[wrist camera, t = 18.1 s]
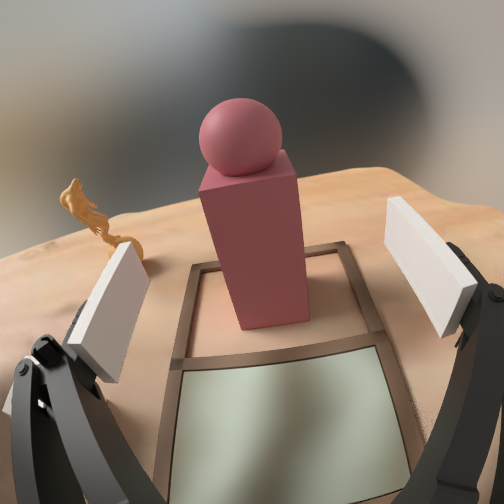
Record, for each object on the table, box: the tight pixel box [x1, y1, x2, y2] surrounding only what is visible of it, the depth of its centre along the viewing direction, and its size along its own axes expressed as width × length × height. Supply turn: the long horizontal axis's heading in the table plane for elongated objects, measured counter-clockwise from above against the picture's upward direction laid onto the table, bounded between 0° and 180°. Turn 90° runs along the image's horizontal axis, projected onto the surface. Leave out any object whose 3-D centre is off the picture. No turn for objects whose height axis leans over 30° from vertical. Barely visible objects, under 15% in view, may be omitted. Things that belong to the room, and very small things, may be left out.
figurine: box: [60, 179, 143, 263], centre depth 26 cm, size 8×6×12 cm
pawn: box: [198, 98, 309, 330], centre depth 18 cm, size 5×5×15 cm
